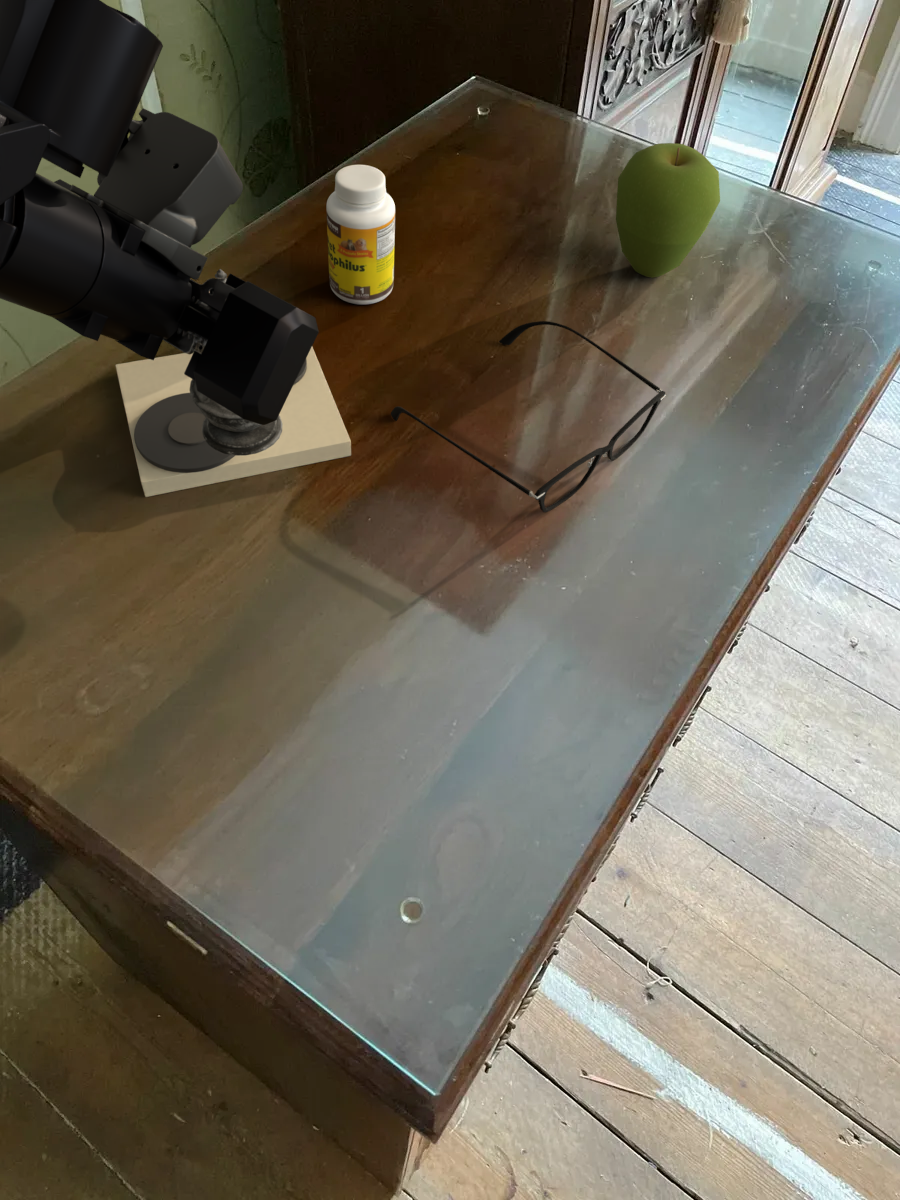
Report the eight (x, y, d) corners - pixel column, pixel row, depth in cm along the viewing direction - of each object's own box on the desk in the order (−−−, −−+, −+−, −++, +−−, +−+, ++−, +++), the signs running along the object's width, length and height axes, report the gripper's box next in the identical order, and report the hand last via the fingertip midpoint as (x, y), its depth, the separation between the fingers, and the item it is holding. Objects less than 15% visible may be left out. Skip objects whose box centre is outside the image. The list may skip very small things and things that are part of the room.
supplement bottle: (316, 289, 83) (309, 177, 74) (358, 262, 85) (356, 150, 77) (365, 316, 81) (364, 204, 73) (407, 287, 84) (410, 176, 75)
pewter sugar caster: (181, 444, 62) (147, 285, 53) (222, 390, 66) (197, 231, 56) (264, 468, 61) (244, 310, 52) (301, 411, 65) (289, 254, 55)
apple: (586, 277, 86) (610, 153, 77) (622, 234, 91) (650, 111, 81) (675, 311, 84) (711, 186, 75) (708, 264, 88) (746, 142, 79)
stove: (145, 498, 67) (139, 477, 65) (119, 379, 74) (113, 358, 73) (351, 456, 71) (351, 436, 69) (307, 347, 78) (306, 326, 76)
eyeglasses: (532, 538, 67) (539, 499, 64) (373, 426, 73) (373, 385, 70) (666, 426, 75) (678, 386, 71) (513, 332, 81) (518, 292, 77)
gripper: (278, 161, 40) (425, 276, 55) (-8, 23, 46) (193, 160, 61) (170, 399, 42) (339, 450, 57) (-91, 238, 48) (122, 321, 63)
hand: (246, 337), depth 59 cm, fingers closed on pewter sugar caster, 3 cm apart
